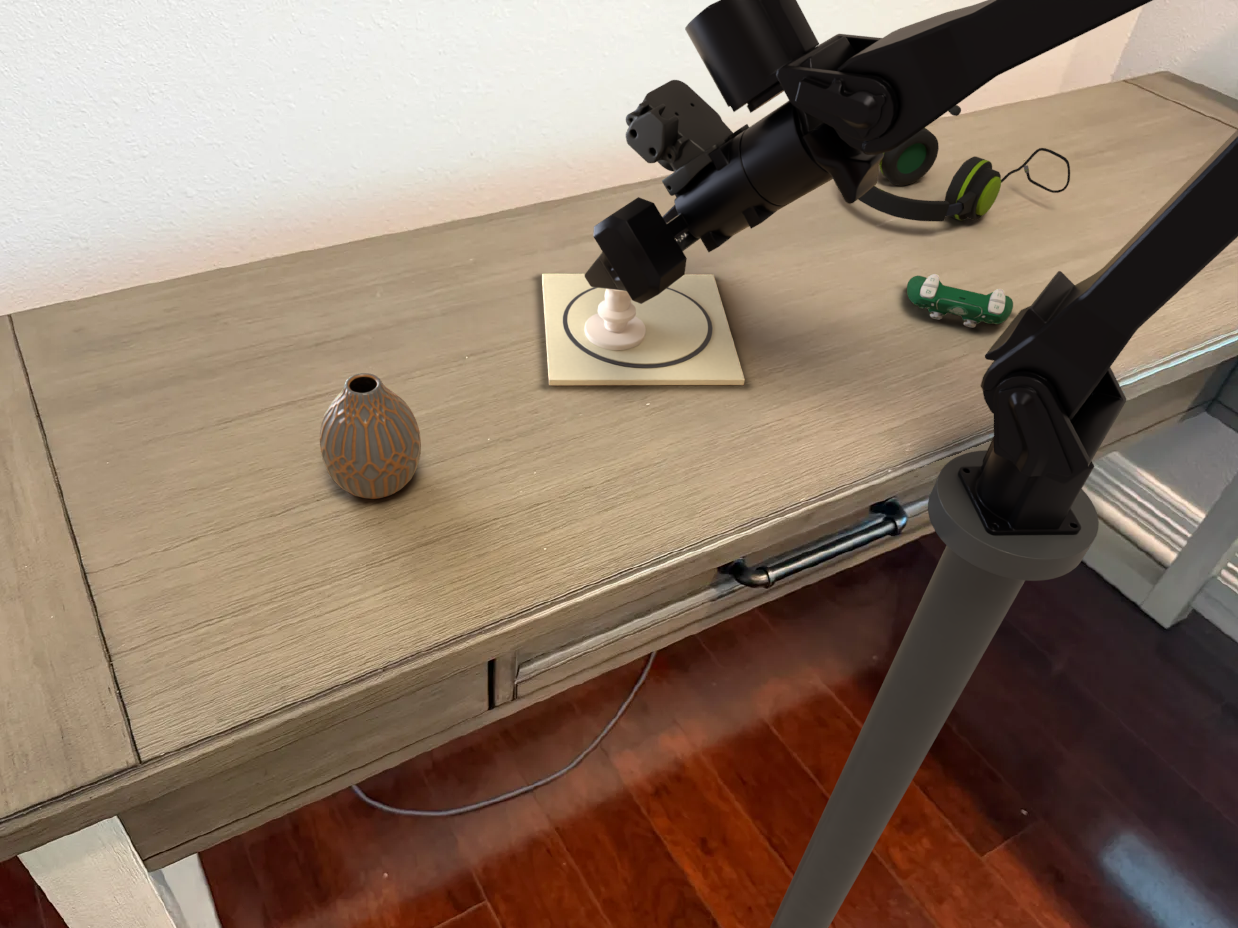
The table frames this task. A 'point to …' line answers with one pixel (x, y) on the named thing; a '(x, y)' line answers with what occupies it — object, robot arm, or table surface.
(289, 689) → the table surface
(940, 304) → the gaming controller
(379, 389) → the vase
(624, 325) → the candle
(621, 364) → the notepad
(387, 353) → the table surface
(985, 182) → the headphones
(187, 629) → the table surface
